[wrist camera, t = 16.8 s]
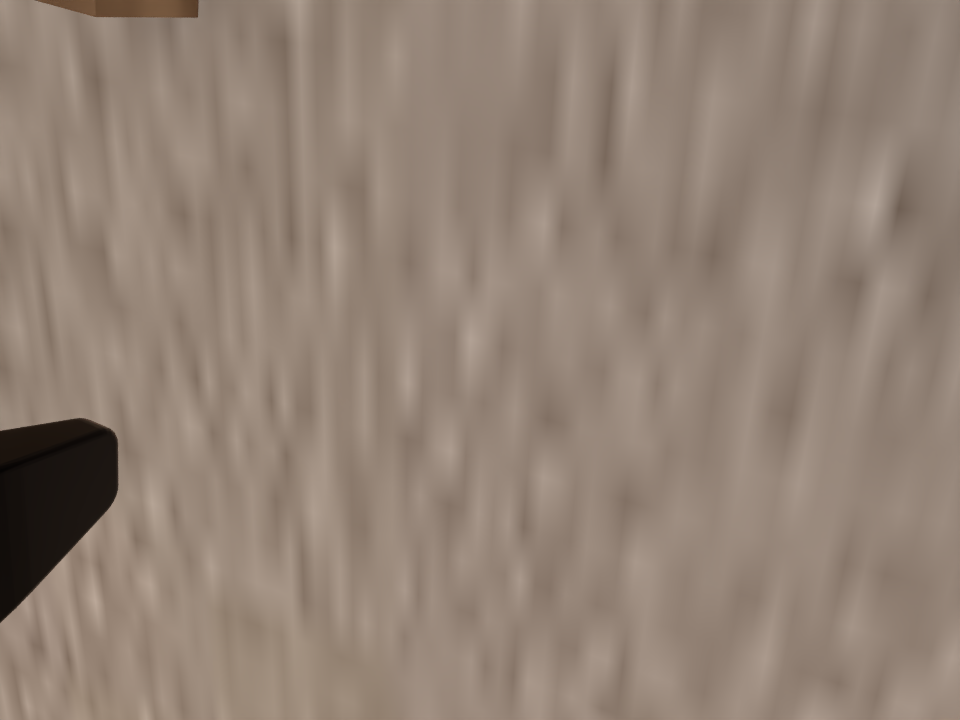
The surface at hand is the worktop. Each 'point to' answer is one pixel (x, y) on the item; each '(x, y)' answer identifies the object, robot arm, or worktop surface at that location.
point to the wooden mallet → (130, 7)
